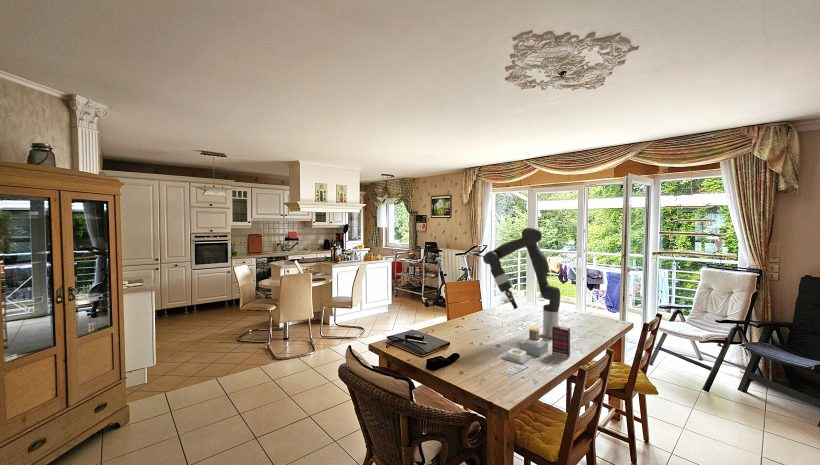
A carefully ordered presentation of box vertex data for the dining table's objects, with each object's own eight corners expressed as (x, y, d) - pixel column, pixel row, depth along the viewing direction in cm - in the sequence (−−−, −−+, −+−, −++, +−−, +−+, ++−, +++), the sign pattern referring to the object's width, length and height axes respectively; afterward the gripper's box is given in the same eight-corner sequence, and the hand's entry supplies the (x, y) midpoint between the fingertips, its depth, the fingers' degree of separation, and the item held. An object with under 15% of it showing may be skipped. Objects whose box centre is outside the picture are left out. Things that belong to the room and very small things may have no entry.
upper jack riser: (519, 351, 192) (519, 339, 191) (527, 345, 201) (527, 334, 200) (540, 356, 184) (540, 344, 183) (548, 350, 193) (548, 338, 192)
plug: (529, 342, 192) (529, 328, 192) (531, 340, 195) (532, 327, 195) (536, 343, 189) (536, 330, 189) (538, 342, 192) (538, 328, 192)
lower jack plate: (501, 358, 181) (501, 352, 181) (511, 352, 190) (511, 346, 190) (523, 364, 173) (523, 357, 173) (532, 357, 182) (532, 351, 182)
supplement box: (570, 356, 184) (570, 328, 184) (568, 359, 180) (568, 330, 180) (553, 352, 189) (554, 325, 189) (551, 355, 186) (552, 327, 185)
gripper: (508, 280, 190) (522, 306, 187) (508, 279, 204) (521, 303, 201) (497, 285, 192) (510, 311, 188) (497, 284, 206) (509, 308, 202)
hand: (516, 307), depth 194 cm, fingers open, 8 cm apart
